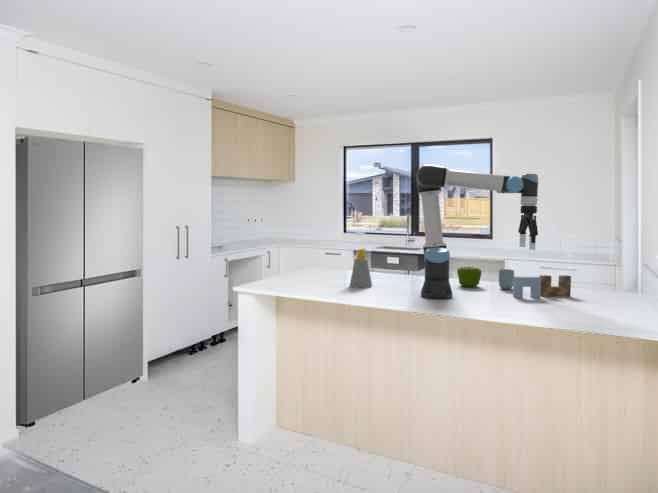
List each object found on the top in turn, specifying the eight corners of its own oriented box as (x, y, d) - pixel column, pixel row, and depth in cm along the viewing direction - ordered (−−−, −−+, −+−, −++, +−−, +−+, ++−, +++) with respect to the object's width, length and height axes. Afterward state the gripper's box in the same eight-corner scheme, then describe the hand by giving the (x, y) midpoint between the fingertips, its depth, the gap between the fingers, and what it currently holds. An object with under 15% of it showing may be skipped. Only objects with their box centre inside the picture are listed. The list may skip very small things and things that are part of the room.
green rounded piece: (485, 286, 272) (485, 266, 271) (470, 289, 265) (470, 267, 264) (467, 283, 283) (467, 263, 282) (452, 285, 276) (452, 265, 275)
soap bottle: (376, 285, 277) (376, 248, 275) (365, 288, 266) (365, 250, 265) (356, 283, 284) (356, 247, 282) (345, 286, 273) (345, 249, 271)
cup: (514, 290, 261) (515, 271, 260) (499, 289, 263) (499, 271, 262) (512, 287, 269) (513, 269, 268) (497, 287, 270) (497, 269, 270)
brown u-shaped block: (540, 296, 245) (541, 276, 244) (538, 295, 248) (539, 275, 247) (570, 296, 244) (571, 276, 243) (567, 295, 247) (568, 275, 246)
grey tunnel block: (514, 297, 241) (515, 277, 240) (512, 296, 244) (513, 276, 243) (540, 298, 240) (541, 277, 239) (538, 297, 243) (538, 276, 242)
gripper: (546, 205, 234) (544, 250, 236) (527, 205, 259) (525, 246, 261) (530, 205, 234) (528, 250, 236) (512, 205, 259) (511, 246, 261)
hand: (527, 248), depth 248 cm, fingers open, 13 cm apart
